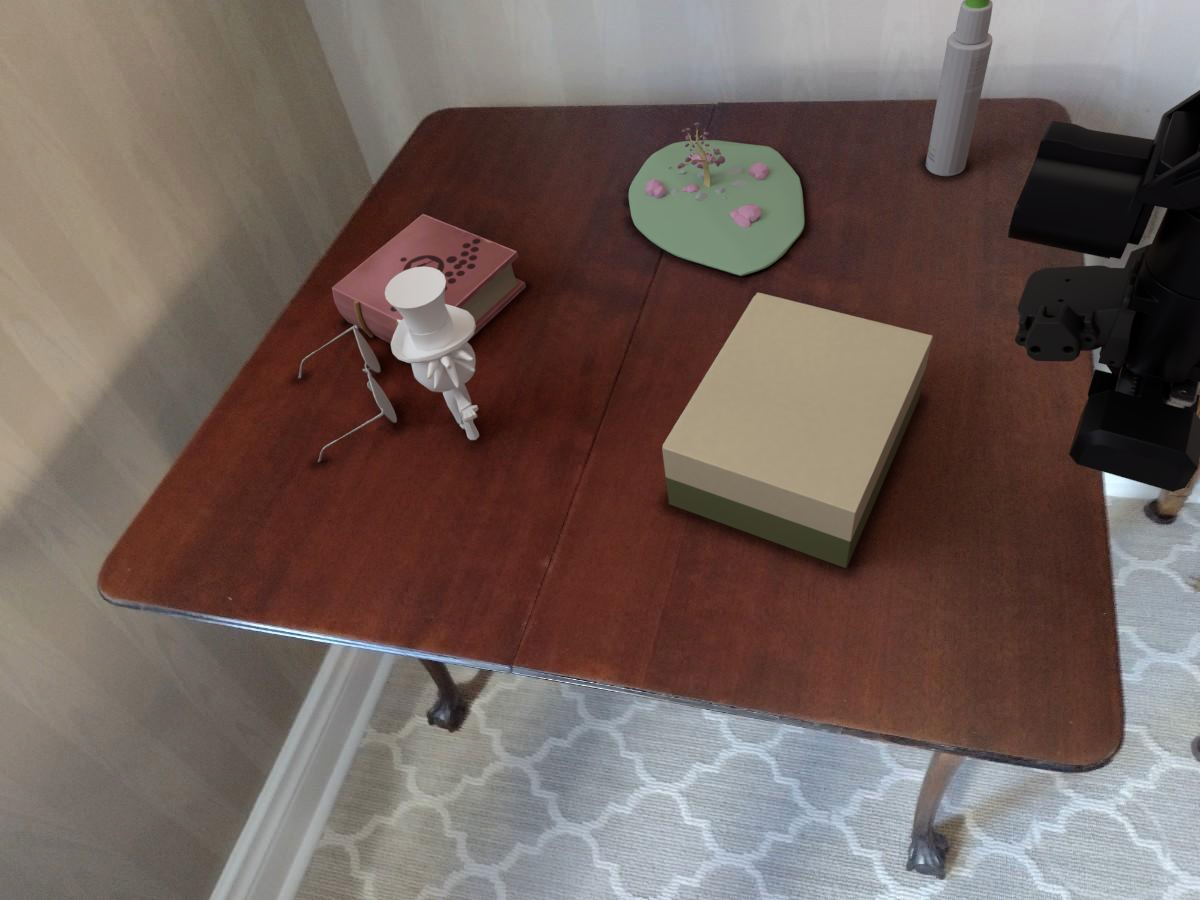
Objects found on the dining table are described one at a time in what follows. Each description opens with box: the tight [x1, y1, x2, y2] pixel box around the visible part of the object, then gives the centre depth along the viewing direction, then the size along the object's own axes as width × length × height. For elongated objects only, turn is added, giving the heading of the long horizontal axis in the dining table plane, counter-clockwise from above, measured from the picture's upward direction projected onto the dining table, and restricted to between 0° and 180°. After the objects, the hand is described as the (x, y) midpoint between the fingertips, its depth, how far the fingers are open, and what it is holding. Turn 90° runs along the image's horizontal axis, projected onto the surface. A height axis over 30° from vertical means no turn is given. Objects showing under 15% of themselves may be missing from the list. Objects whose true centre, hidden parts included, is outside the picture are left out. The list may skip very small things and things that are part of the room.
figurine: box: [385, 267, 480, 441], centre depth 80 cm, size 10×8×18 cm
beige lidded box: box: [661, 291, 934, 569], centre depth 77 cm, size 16×20×8 cm
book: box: [331, 213, 527, 344], centre depth 97 cm, size 14×15×5 cm
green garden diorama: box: [628, 121, 805, 277], centre depth 100 cm, size 25×21×9 cm
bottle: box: [925, 0, 994, 177], centre depth 95 cm, size 4×4×20 cm
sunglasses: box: [297, 325, 398, 463], centre depth 90 cm, size 14×8×5 cm, turn 21°
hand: (1113, 442), depth 62 cm, fingers closed
